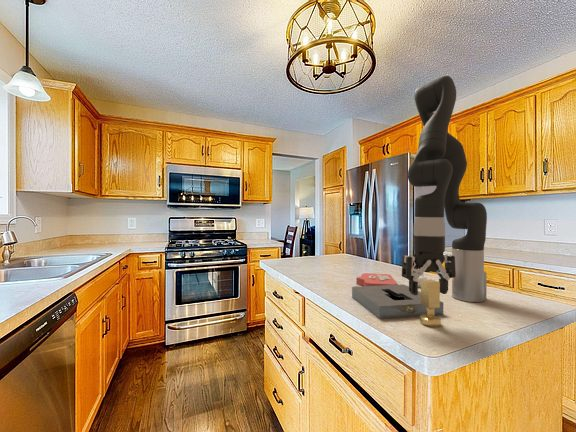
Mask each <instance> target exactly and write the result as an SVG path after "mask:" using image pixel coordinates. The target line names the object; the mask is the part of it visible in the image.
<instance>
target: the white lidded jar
mask: <svg viewBox="0 0 576 432" xmlns="http://www.w3.org/2000/svg"><path fill="white" fill-rule="evenodd" d="M418 270H419V268H418ZM421 280H428V278H427V276H426V275H425V273H423V274H422V275H420V277H419V278H418V279H417V282H418V288H421Z"/></svg>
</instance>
